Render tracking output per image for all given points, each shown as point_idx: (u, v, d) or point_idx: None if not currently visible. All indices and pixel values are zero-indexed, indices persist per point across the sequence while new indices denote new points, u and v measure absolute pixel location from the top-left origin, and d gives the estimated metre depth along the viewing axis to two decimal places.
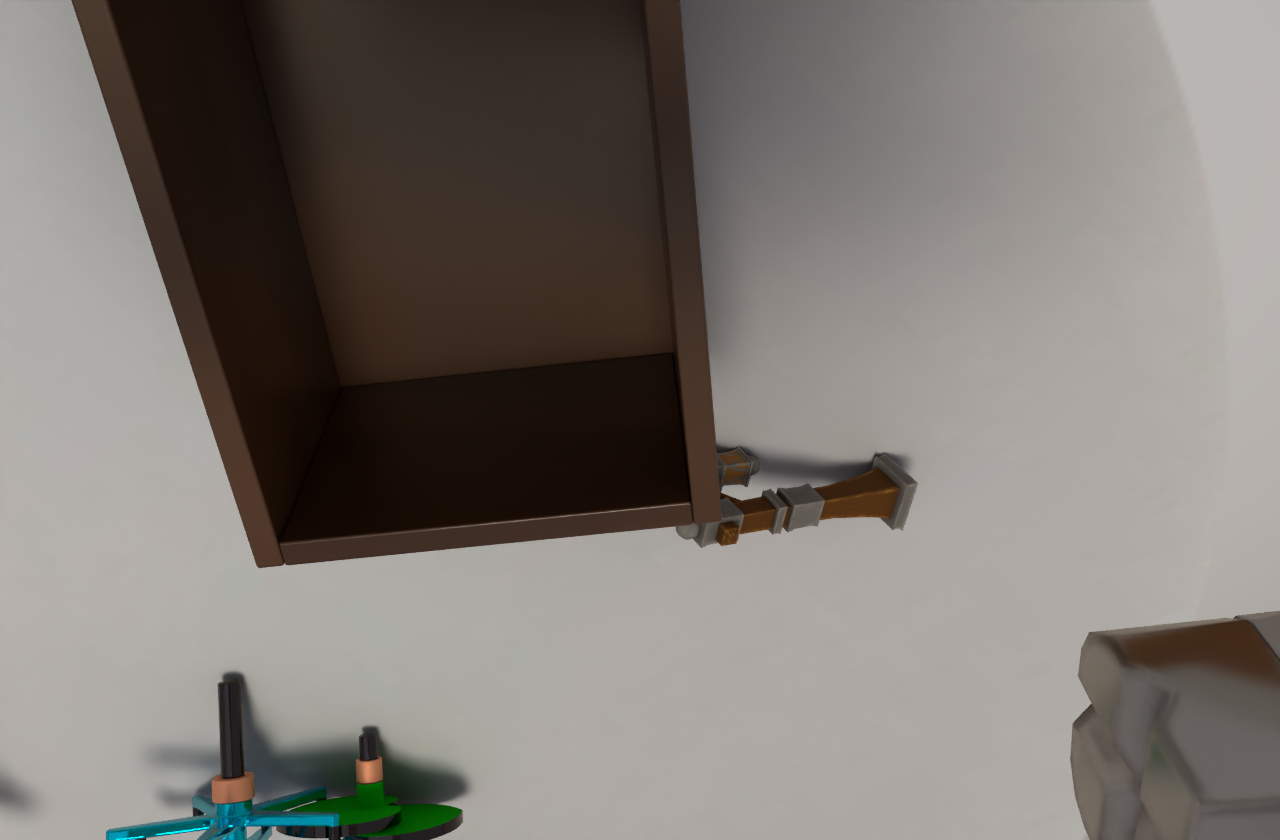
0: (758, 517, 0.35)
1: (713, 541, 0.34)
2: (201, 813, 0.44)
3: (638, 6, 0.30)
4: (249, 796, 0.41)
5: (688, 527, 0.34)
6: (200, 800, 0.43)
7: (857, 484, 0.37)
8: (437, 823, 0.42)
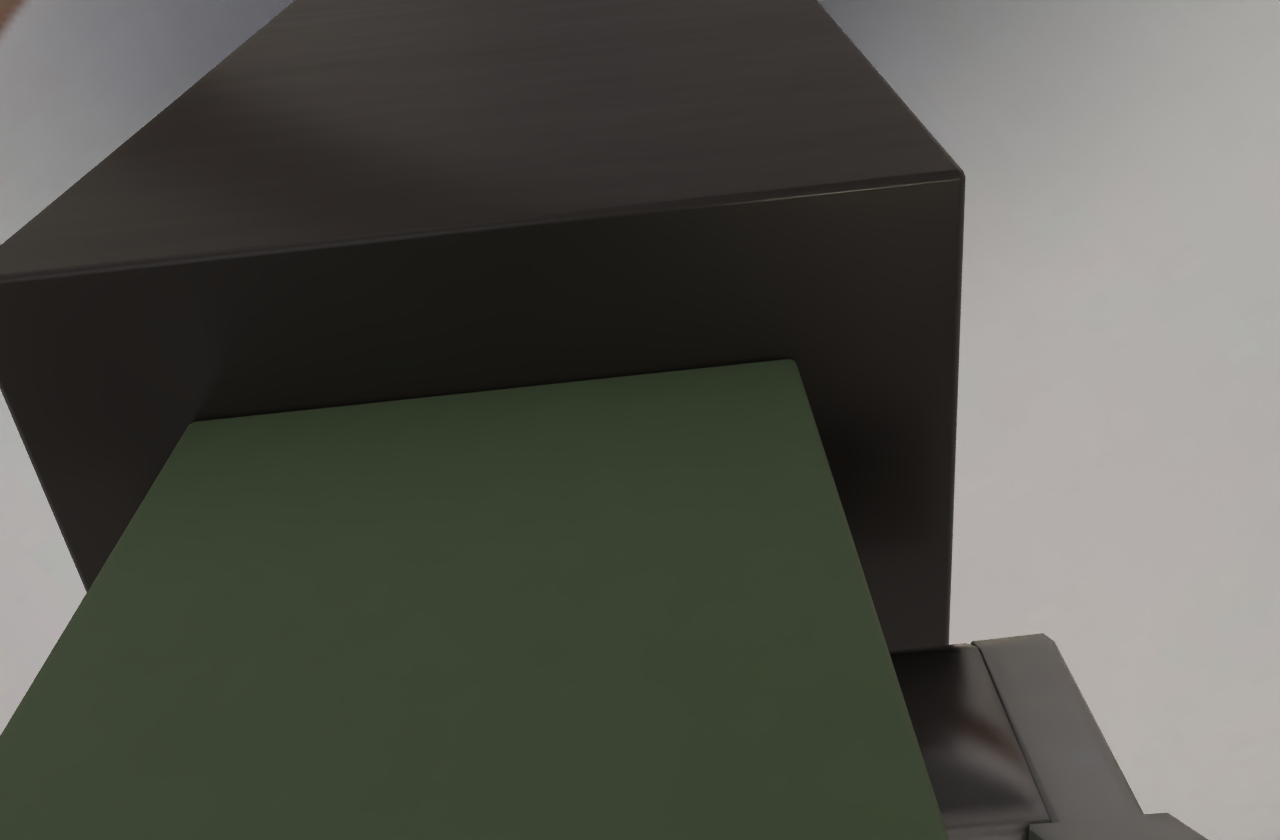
0: None
1: None
2: None
3: None
4: None
5: None
6: None
7: None
8: None
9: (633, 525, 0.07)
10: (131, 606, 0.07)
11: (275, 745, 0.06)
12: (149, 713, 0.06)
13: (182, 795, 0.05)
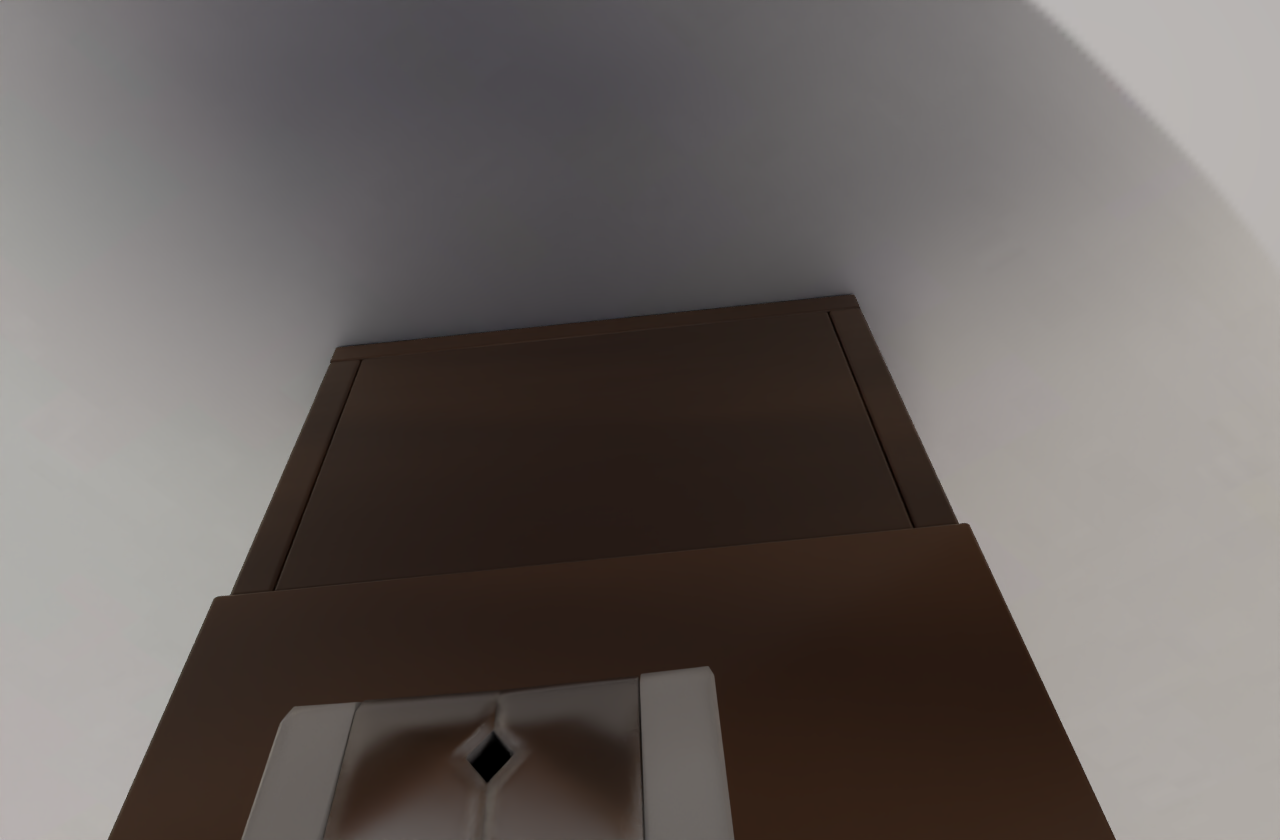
0: None
1: None
2: None
3: None
4: None
5: None
6: None
7: None
8: None
9: None
10: None
11: None
12: None
13: None
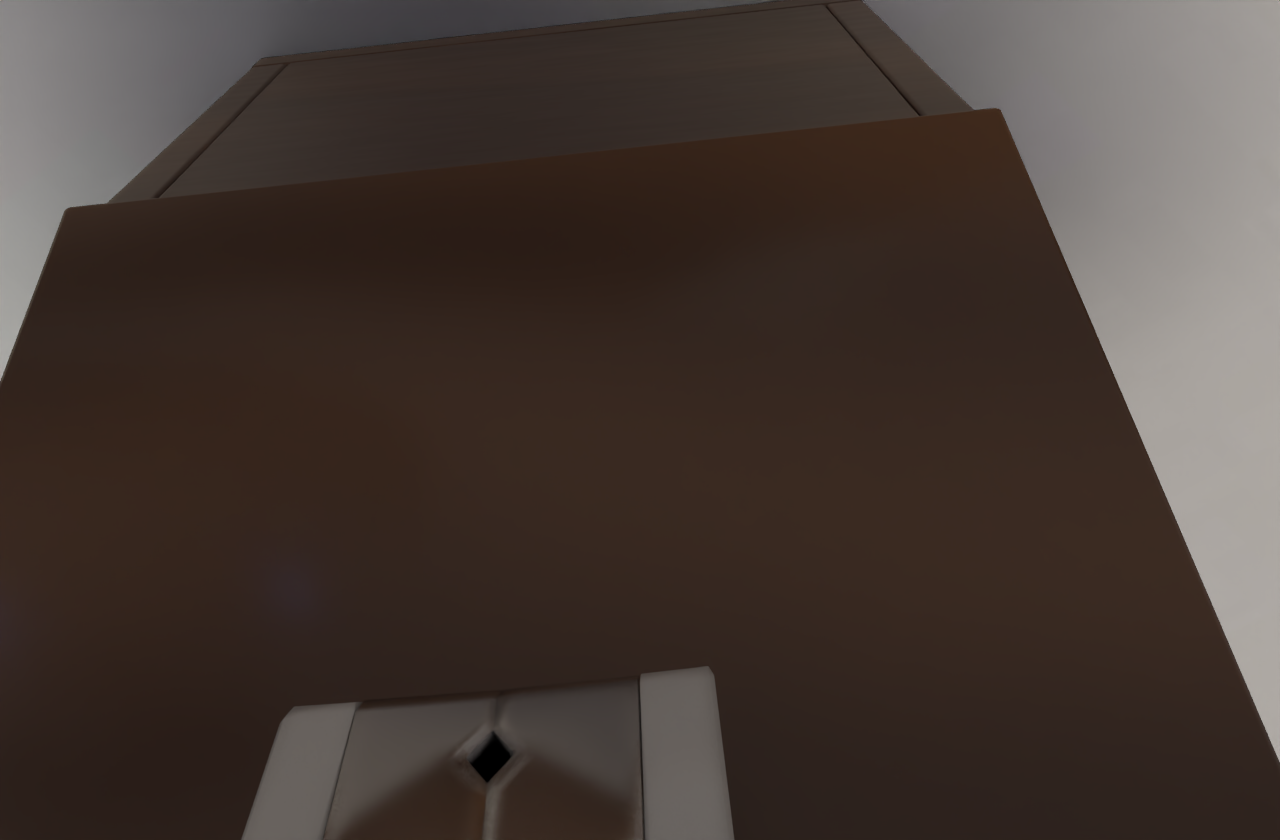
0: None
1: None
2: None
3: None
4: None
5: None
6: None
7: None
8: None
9: None
10: None
11: None
12: None
13: None
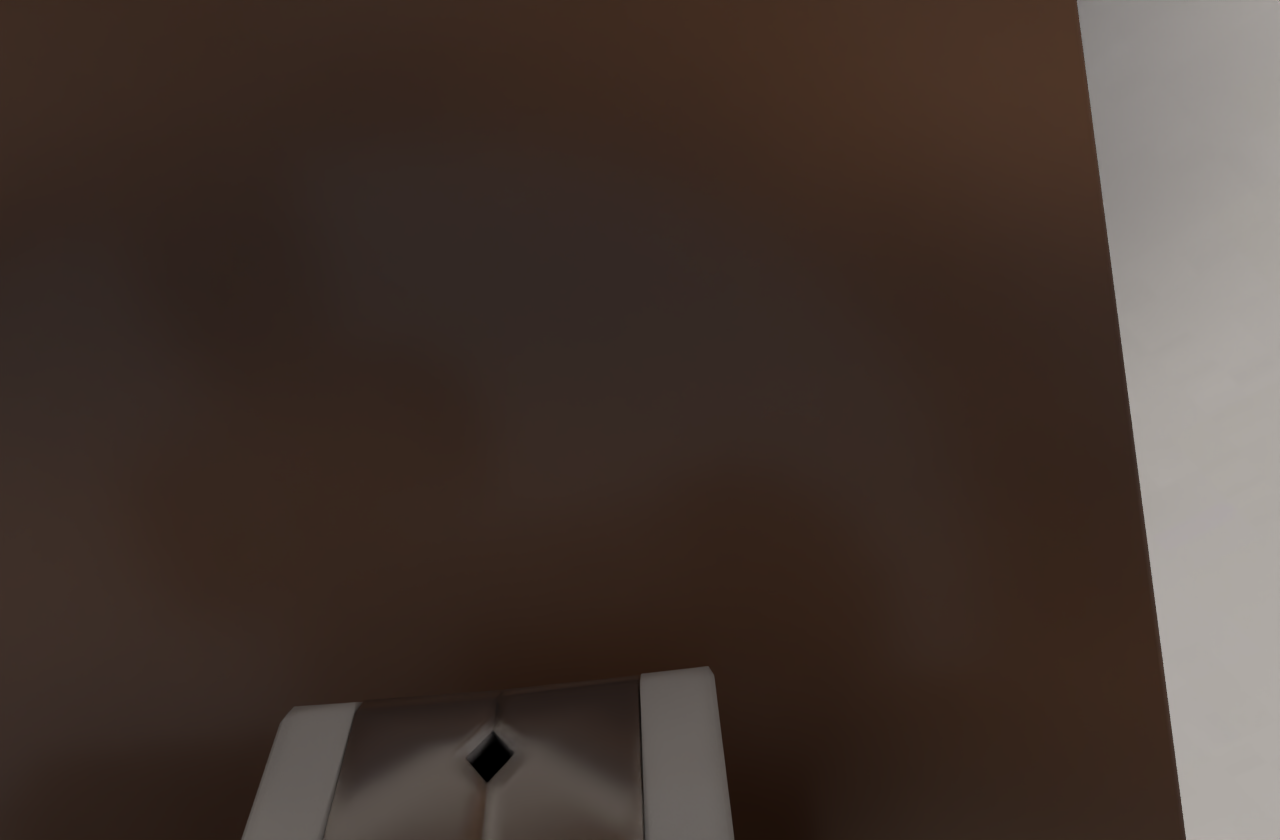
0: None
1: None
2: None
3: None
4: None
5: None
6: None
7: None
8: None
9: None
10: None
11: None
12: None
13: None
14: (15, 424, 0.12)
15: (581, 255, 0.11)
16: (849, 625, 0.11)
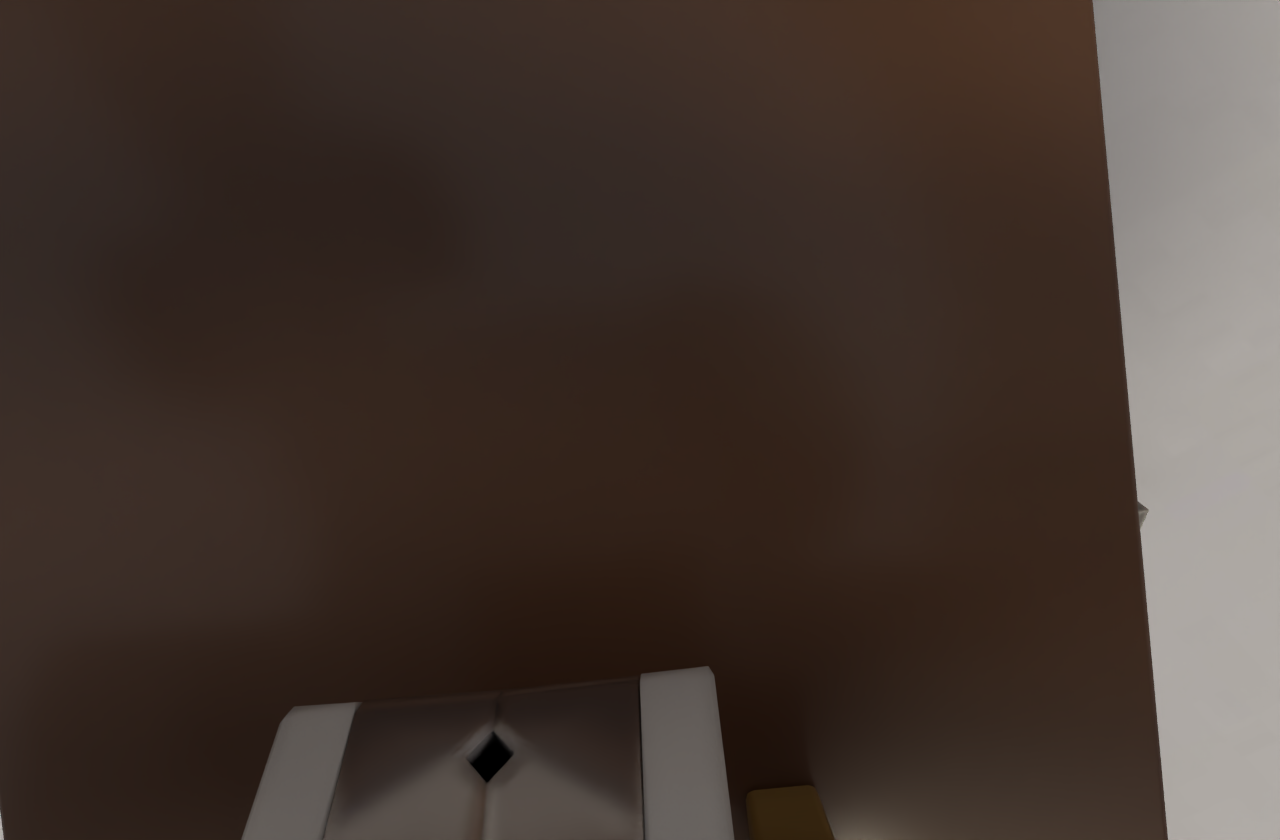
0: None
1: None
2: None
3: None
4: None
5: None
6: None
7: None
8: None
9: None
10: None
11: None
12: None
13: None
14: (8, 363, 0.11)
15: (575, 189, 0.11)
16: (842, 557, 0.11)
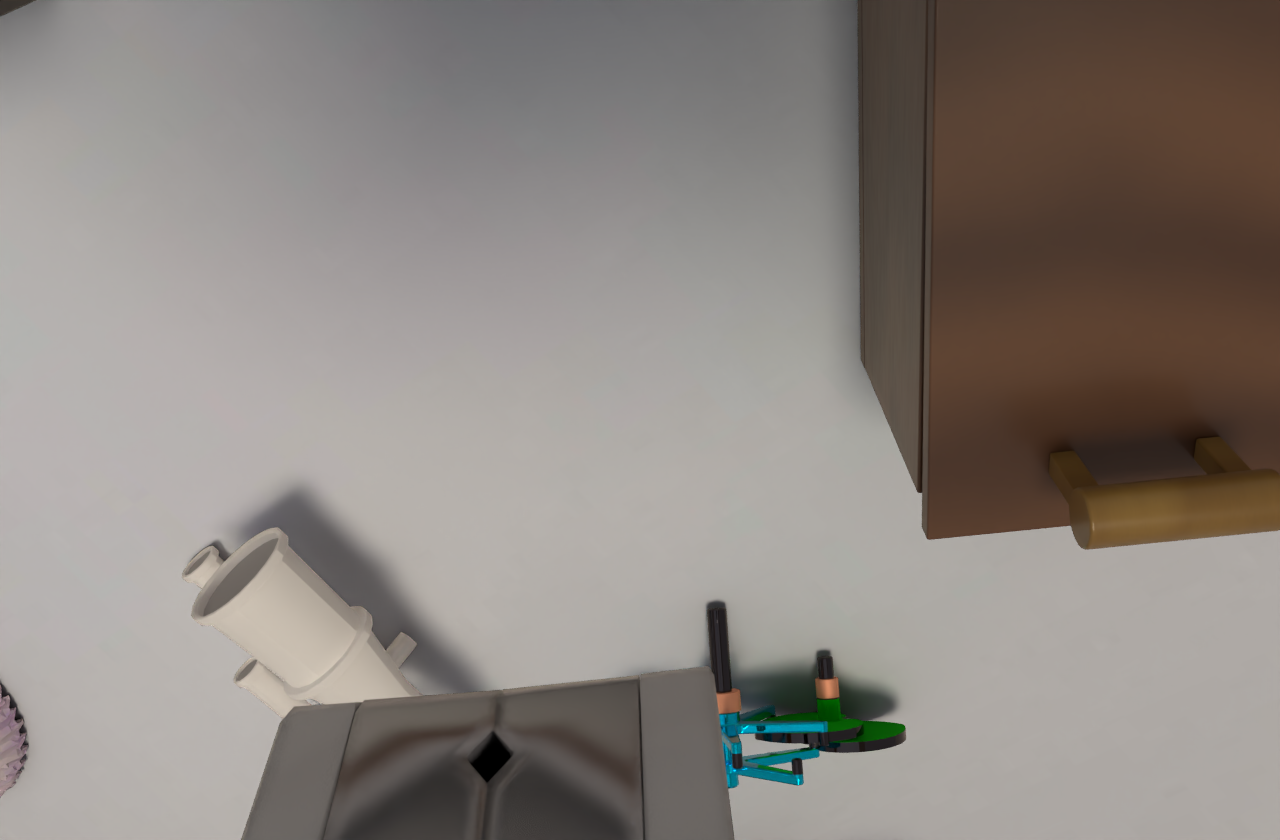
0: None
1: None
2: None
3: None
4: (740, 708, 0.47)
5: None
6: None
7: None
8: (895, 732, 0.48)
9: None
10: None
11: None
12: None
13: None
14: (956, 300, 0.30)
15: (1182, 237, 0.30)
16: (1249, 363, 0.31)
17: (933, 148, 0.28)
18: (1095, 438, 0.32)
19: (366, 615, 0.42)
